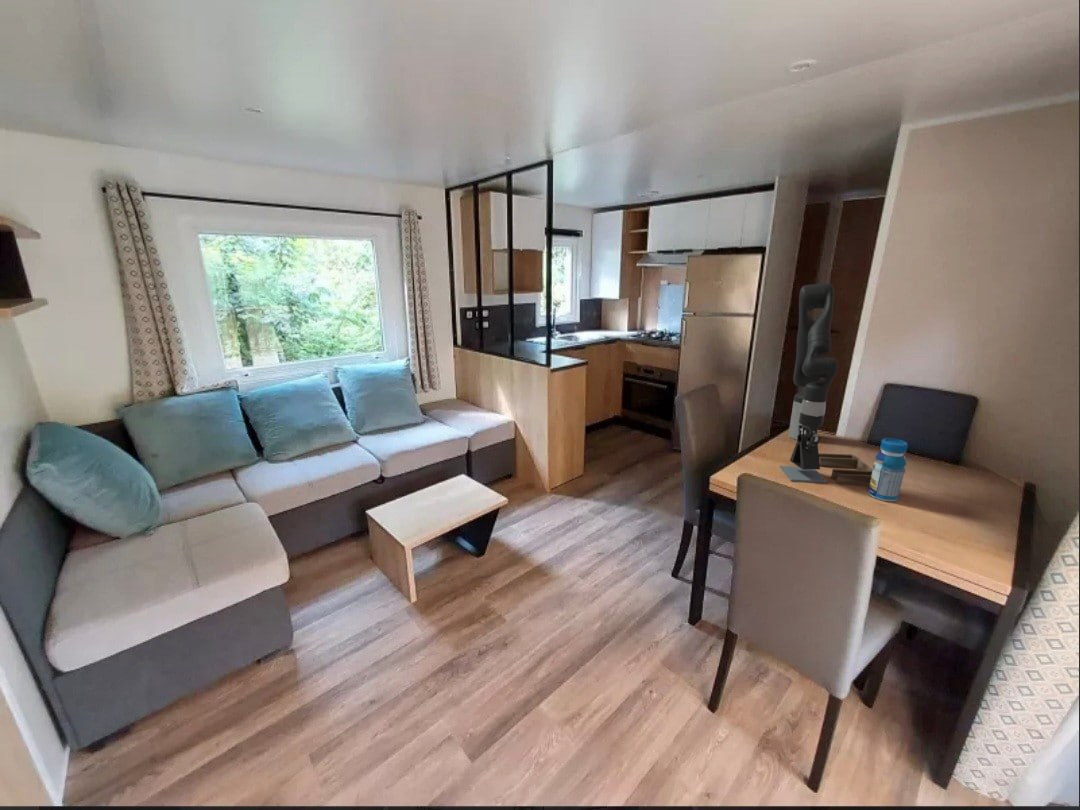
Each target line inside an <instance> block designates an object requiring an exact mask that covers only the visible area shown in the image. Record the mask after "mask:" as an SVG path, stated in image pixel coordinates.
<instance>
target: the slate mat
mask: <svg viewBox="0 0 1080 810" xmlns="http://www.w3.org/2000/svg"><path fill="white" fill-rule="evenodd" d="M779 468H781V471H782V472H783V474H784V475H785V476H786V477H787V478H788V479H789V481H790V482H796V483H797V482H799V483H818V484H820V483H821V484H828V483H827V482H828V481H827V479H826V478H825V477H823V475H821V473H820V472H819V471H818V469H808V470H803V469H801V468H800V467H798V466H797V465H795V466H794V465H793V466H792V465H779Z"/></svg>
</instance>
